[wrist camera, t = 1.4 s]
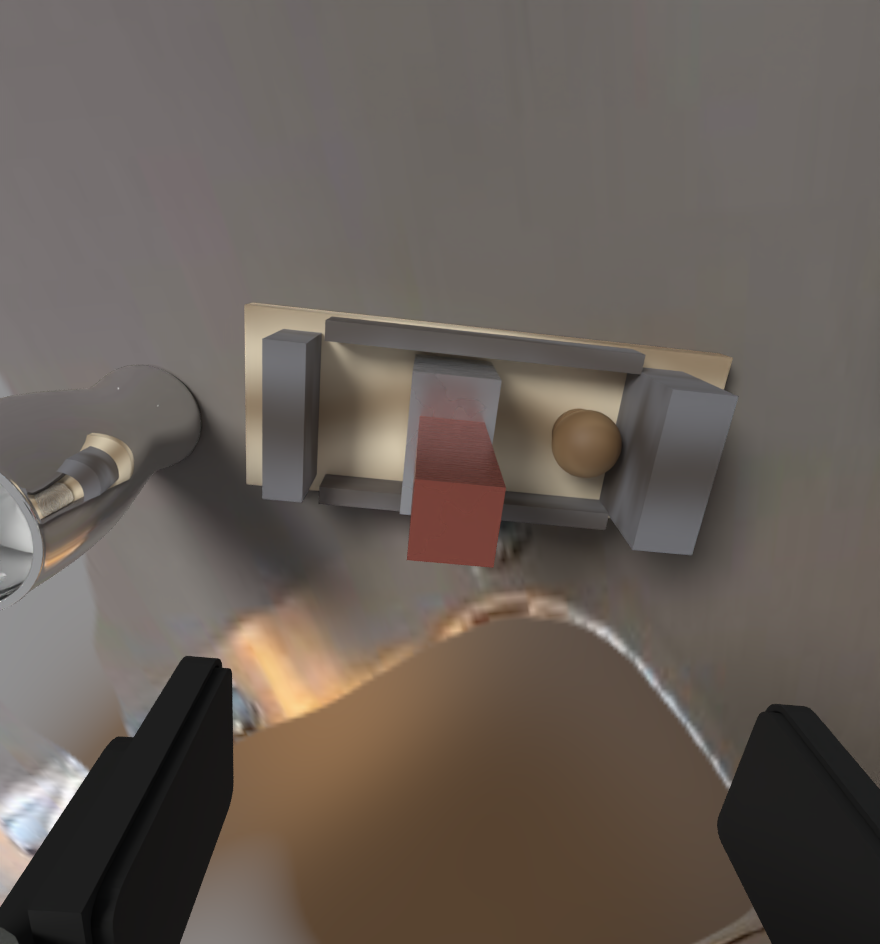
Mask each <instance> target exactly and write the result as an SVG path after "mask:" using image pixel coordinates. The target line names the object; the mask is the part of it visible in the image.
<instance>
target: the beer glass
mask: <svg viewBox="0 0 880 944" xmlns="http://www.w3.org/2000/svg"><path fill="white" fill-rule="evenodd" d="M200 432H201V416H200V411H199V408H198V405H197V403H196V401H195V399H194V397H193V395H192V394H191V392H190V391H189V390H188V388H187V387H186V386H185V385H184V384H183V383H182V382H181V381H180V380H179V379H177V378H176V377H175V376H173V375H172V374H170V373H168V372H166V371H164V370H162V369H159V368H156V367H153V366H148V365H129V366H124V367H121V368H118V369H116V370H113V371H112V372H110V373H108V374H107V375H105V376H104V377H103V378H102V379H100V380H99V381H98V382H97V383H96V384H95V385H93V386H92V387H89V388H83V389H69V390H54V391H41V392H33V393H26V394H19V395H12V396H7V397H2V398H0V610H3V609H5V608H8V607H9V606H11V605H13V604H15V603H16V602H18V601H19V600H21V599H22V598H23V597H24V596H25V595H26V594H27V593H29V592H30V591H32V590H33V589H35V588H36V587H37V586H39V585H40V584H42V583H44V582H45V581H47V580H48V579H50V578H51V577H53V576H54V575H56V574H57V573H59V572H60V571H61V570H63V569H64V568H66V567H67V566H69V565H70V564H71V563H73V562H74V561H75V560H77V559H78V558H79V557H80V556H82V555H83V554H84V553H86V552H87V551H88V550H89V549H91V548H92V547H93V546H94V545H95V544H96V543H97V542H98V541H100V540H101V539H102V538H103V537H104V536H105V535H106V534H107V533H108V532H109V531H110V530H111V529H112V528H113V527H114V526H115V525H116V524H117V522H118V521H119V520H120V519H121V517H122V516H123V515H124V514H125V513H126V511H127V510H128V509H129V508H130V506H131V505H132V503H133V502H134V500H135V499H136V497H137V496H138V495H139V493H140V492H141V490H142V489H143V487H144V485H145V484H146V482H147V481H148V480H149V478H150V477H151V476H152V474H154V473H155V472H156V471H158V470H161V469H164V468H167V467H170V466H172V465H174V464H177V463H178V462H180V461H182V460H183V459H184V458H186V457H187V456H188V455H189V454H190V453H191V452H192V451H193V449H194V448H195V446H196V444H197V442H198V440H199V437H200Z"/></svg>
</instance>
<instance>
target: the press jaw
mask: <svg viewBox="0 0 880 944" xmlns="http://www.w3.org/2000/svg"><path fill="white" fill-rule="evenodd" d="M501 382H502V380H501V378H500V377H499V375H498V373H497V371H496V370H495V368H494V366H493V365H492V363H491V362H489V361H480V360H470V359H461V358H451V357H442V356H433V355H423V354H415V360H414V366H413V373H412V384H411V395H410V406H409V417H408V428H407V439H406V450H405V461H404V472H403V483H402V494H401V505H400V514H404V515H411V516H410V528H409V541H408V553H407V560H413V561H424V562H436V563H447V564H459V565H470V566H482V567H493V566H494V560H495V554H496V547H497V541H498V535H499V529H500V522H501V516H502V510H503V503H504V497H505V491H506V486H505V483H504V480H503V477H502V474H501V471H500V468H499V465H498V462H497V459H496V455H495V452H494V449H493V446H492V444H493V437H494V430H495V423H496V416H497V409H498V402H499V396H500V389H501Z"/></svg>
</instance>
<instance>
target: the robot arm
mask: <svg viewBox="0 0 880 944" xmlns="http://www.w3.org/2000/svg"><path fill="white" fill-rule="evenodd" d="M232 792H233V711H232V671H231V669H229V668H222V663H221V660H220V659H218V658H205V657H193V656H185V657H184V658H183V659H182V660H181V661H180V663H179V665H178V666H177V668H176V669H175V671H174V673H173V674H172V676H171V678H170V679H169V681H168V682H167V684H166V686H165V687H164V689H163V691H162V692H161V694H160V695H159V697H158V699H157V700H156V702H155V704H154V705H153V707H152V708H151V710H150V712H149V713H148V715H147V717H146V718H145V720H144V721H143V723H142V725H141V726H140V728H139V730H138V731H137V733H136V734H135V736H134V737H116V738H115V739H113V740H112V741H111V742H110V743H109V744H108V745H107V747H106V748H105V749H104V751H103V752H102V754H101V755H100V757H99V758H98V760H97V761H96V763H95V764H94V766H93V767H92V769H91V770H90V772H89V773H88V775H87V776H86V778H85V779H84V781H83V782H82V784H81V785H80V787H79V789H78V790H77V792H76V793H75V795H74V796H73V798H72V799H71V801H70V802H69V804H68V805H67V807H66V808H65V810H64V811H63V813H62V814H61V816H60V817H59V819H58V820H57V822H56V823H55V825H54V826H53V828H52V829H51V831H50V832H49V834H48V836H47V837H46V839H45V840H44V842H43V843H42V845H41V846H40V848H39V849H38V851H37V852H36V854H35V855H34V857H33V858H32V860H31V861H30V863H29V864H28V866H27V867H26V869H25V870H24V872H23V873H22V875H21V876H20V878H19V879H18V881H17V883H16V884H15V886H14V887H13V889H12V890H11V892H10V893H9V895H8V896H7V898H6V899H5V901H4V902H3V904H2V905H1V907H0V944H180V941H181V939H182V936H183V933H184V931H185V928H186V925H187V922H188V919H189V917H190V914H191V911H192V908H193V905H194V903H195V900H196V897H197V895H198V892H199V889H200V886H201V884H202V881H203V878H204V875H205V873H206V870H207V867H208V864H209V862H210V859H211V856H212V853H213V851H214V848H215V845H216V842H217V840H218V837H219V834H220V831H221V829H222V825H223V823H224V820H225V818H226V815H227V812H228V809H229V806H230V802H231V798H232ZM717 827H718V834H719V838H720V840H721V843H722V845H723V847H724V849H725V851H726V853H727V854H728V857H729V859H730V861H731V863H732V865H733V867H734V869H735V871H736V873H737V875H738V877H739V879H740V881H741V883H742V885H743V887H744V889H745V891H746V893H747V894H748V897H749V899H750V901H751V903H752V905H753V907H754V909H755V911H756V913H757V915H758V917H759V919H760V921H761V923H762V925H763V927H764V929H765V931H766V933H767V935H768V937H769V939H770V941H771V943H772V944H880V789H879V788H878V787H877V786H876V784H875V783H874V782H873V781H872V780H871V779H870V777H869V776H868V775H867V774H866V773H865V771H864V770H863V769H862V768H861V767H860V766H859V764H858V763H857V762H856V761H855V760H854V759H853V757H852V756H851V755H850V754H849V753H848V751H847V750H846V749H845V748H844V747H843V746H842V744H841V743H840V742H839V741H838V740H837V738H836V737H835V736H834V735H833V734H832V733H831V731H830V730H829V729H828V728H827V727H826V725H825V724H824V723H823V722H822V721H821V720H820V718H819V717H818V716H817V715H816V714H815V713H814V712H813V711H812V710H811V709H810V708H807V707H805V706H793V705H781V704H772V705H770V706H769V707H768V708H767V710H766V711H765V712H762V713H760V714H759V716H758V718H757V720H756V723H755V725H754V728H753V730H752V733H751V735H750V738H749V740H748V743H747V746H746V748H745V751H744V753H743V756H742V758H741V761H740V763H739V766H738V768H737V771H736V773H735V776H734V779H733V781H732V784H731V786H730V789H729V791H728V794H727V796H726V799H725V802H724V804H723V807H722V809H721V812H720V814H719V817H718V823H717Z"/></svg>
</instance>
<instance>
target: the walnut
mask: <svg viewBox="0 0 880 944" xmlns="http://www.w3.org/2000/svg"><path fill="white" fill-rule="evenodd" d="M551 445H552V453H553V456H554V458H555V460H556V462H557V463H558V465H559V466H560V467H561V468H562V469H563V470H564V471H565V472H567V473H569V474H570V475H573V476H576V477H580V478H593V477H597V476H600V475H602V474H604V473H605V472H607V471H608V470H610V469H611V468H612V467H613V466H614V464H615V463H616V462H617V460H618V458H619V456H620V453H621V448H622V439H621V434H620V431H619V429H618V427H617V426H616V424H615V423H614V422H613V421H612V420H611V419H610V418H609V417H608V416H606V415H605V414H603V413H601V412H598V411H594V410H586V409H579V408H578V409H571V410H569V411H567V412H565V413H563V414H562V415H561V416H560V417H559V418H558V419H557V420H556V422H555V423H554V426H553V429H552V442H551Z"/></svg>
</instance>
